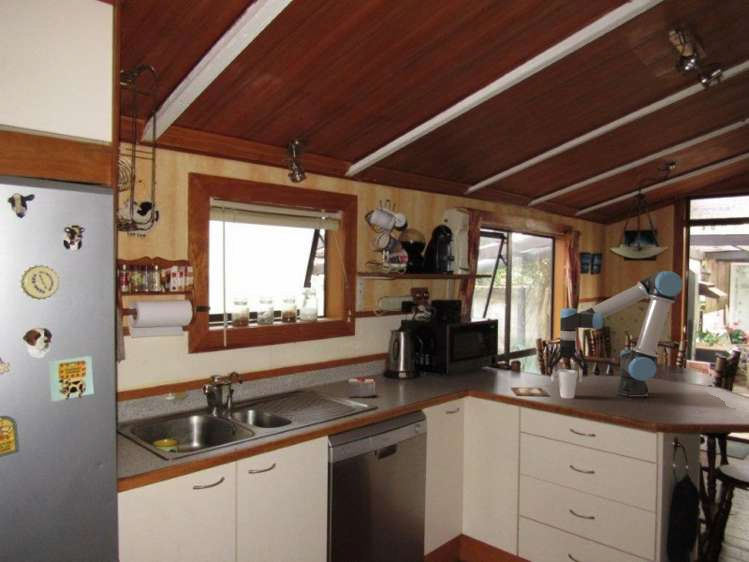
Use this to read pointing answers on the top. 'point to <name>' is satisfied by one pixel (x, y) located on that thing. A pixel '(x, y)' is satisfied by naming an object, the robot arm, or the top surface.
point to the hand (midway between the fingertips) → (566, 381)
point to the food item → (361, 387)
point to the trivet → (529, 392)
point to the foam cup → (567, 383)
